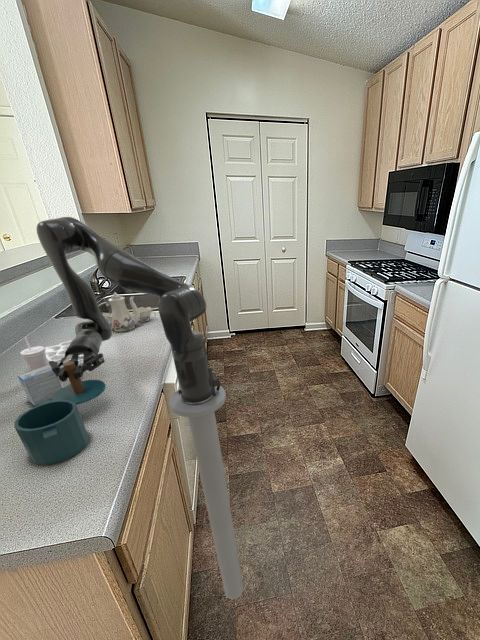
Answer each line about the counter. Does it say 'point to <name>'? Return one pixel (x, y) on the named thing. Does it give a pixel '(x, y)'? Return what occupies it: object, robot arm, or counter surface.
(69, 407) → the cooking pot
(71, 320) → the counter surface
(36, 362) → the smoothie
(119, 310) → the chinaware
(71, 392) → the lid
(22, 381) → the medicine box
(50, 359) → the white holed tray
